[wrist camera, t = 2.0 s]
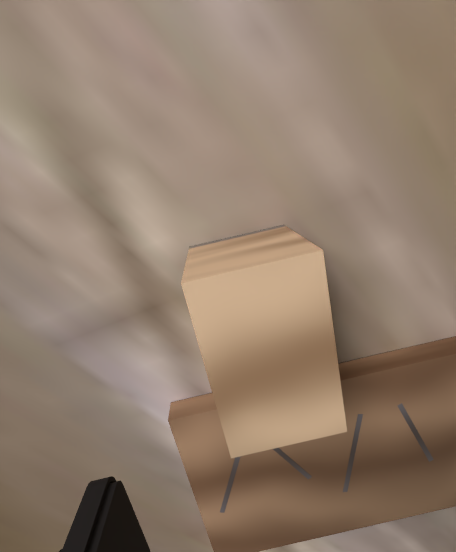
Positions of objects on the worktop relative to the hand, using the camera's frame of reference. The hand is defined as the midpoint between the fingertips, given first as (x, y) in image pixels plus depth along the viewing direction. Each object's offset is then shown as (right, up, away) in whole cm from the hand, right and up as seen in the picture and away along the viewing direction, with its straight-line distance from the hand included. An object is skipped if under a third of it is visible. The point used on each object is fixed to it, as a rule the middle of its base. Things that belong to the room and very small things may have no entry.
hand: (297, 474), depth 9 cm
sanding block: (-1, +4, +9) cm, 10 cm away
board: (+7, -5, +12) cm, 15 cm away
